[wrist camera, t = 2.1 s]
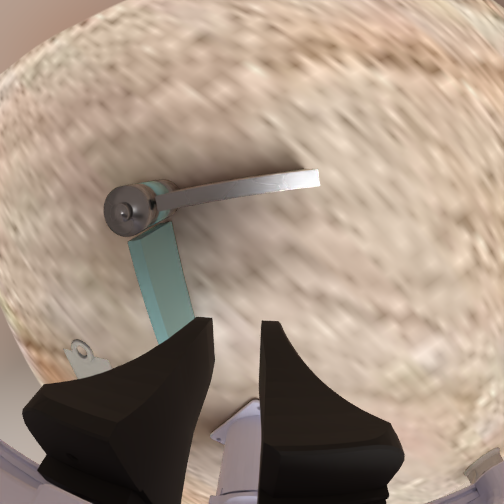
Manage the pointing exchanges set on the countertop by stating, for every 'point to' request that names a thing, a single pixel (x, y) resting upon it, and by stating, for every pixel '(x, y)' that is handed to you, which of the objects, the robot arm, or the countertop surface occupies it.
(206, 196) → the fixed steel leaf
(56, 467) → the robot arm
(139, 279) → the teal swing leaf
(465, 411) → the countertop surface
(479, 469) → the grey container
